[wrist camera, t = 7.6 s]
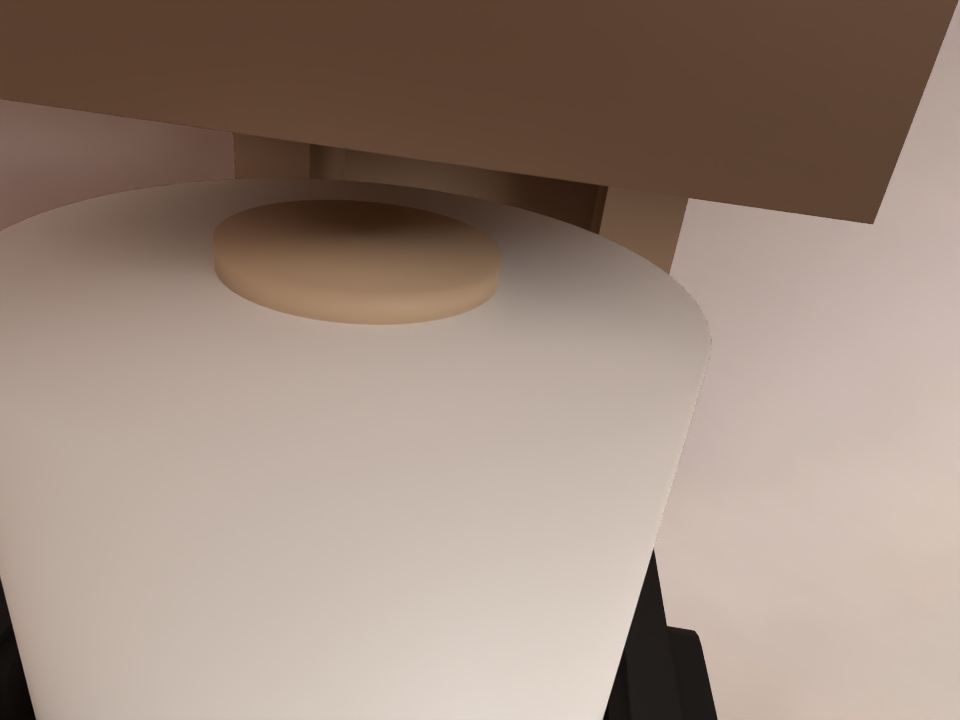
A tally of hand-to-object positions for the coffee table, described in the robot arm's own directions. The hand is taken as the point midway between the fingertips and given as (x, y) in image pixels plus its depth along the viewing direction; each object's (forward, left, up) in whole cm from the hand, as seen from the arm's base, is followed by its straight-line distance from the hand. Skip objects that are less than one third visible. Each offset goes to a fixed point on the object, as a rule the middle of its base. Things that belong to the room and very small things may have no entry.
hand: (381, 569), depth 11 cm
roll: (0, 0, -1) cm, 1 cm away
